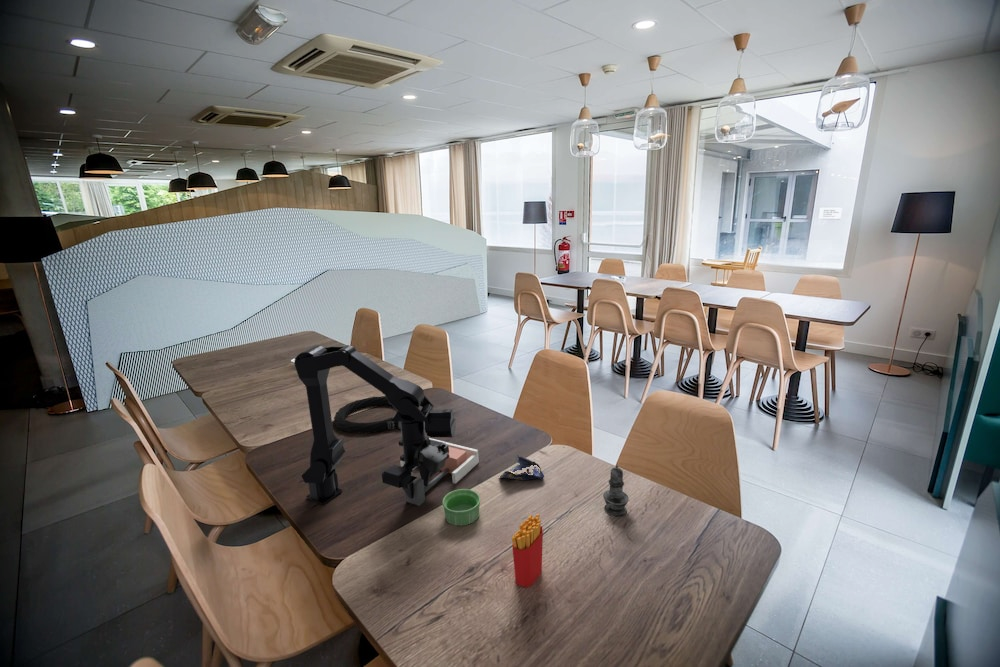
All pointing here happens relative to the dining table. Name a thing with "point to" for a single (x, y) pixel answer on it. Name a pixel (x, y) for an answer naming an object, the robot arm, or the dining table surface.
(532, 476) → the snack package
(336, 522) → the dining table surface
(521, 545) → the french fries
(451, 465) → the tethered block
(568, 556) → the dining table surface
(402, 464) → the lane rack
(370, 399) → the cable lock
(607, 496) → the dark chess piece
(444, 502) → the ramekin
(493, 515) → the dining table surface
